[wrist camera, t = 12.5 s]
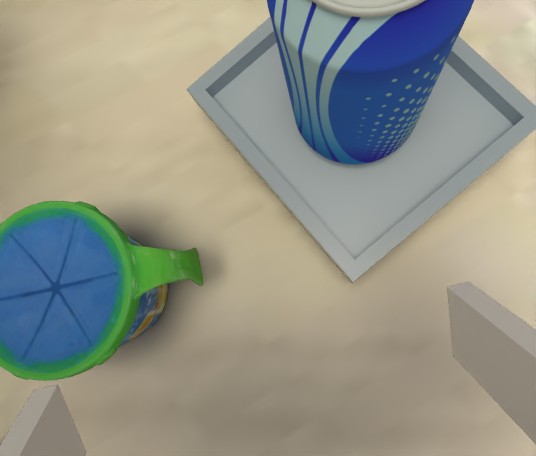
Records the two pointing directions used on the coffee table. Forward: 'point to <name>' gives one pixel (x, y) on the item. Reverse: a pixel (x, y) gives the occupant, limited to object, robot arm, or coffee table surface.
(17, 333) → the snack cup
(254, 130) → the grey rimmed tray
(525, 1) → the coffee table surface
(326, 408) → the coffee table surface
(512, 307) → the coffee table surface
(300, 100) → the beer can
